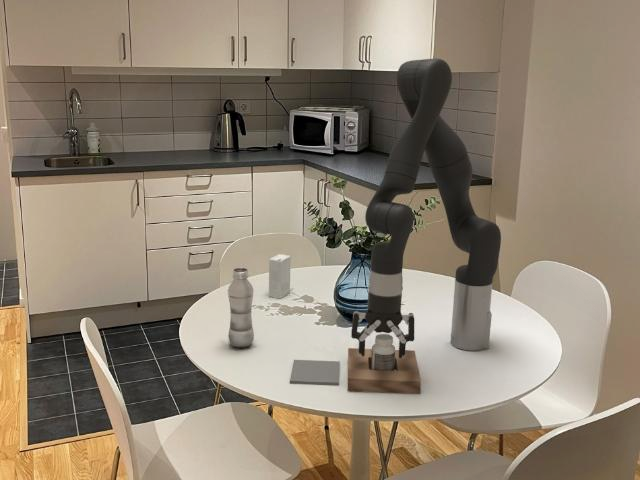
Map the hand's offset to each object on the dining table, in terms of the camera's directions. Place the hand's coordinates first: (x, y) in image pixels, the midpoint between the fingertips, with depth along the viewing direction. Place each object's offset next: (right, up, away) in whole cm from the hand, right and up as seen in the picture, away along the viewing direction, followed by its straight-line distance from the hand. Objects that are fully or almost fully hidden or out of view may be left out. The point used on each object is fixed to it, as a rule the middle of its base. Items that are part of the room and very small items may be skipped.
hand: (381, 355), depth 163 cm
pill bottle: (0, -5, +1) cm, 5 cm away
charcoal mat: (-15, -4, +2) cm, 16 cm away
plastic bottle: (-34, 0, +16) cm, 38 cm away
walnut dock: (0, -5, +1) cm, 5 cm away
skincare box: (-26, +10, +51) cm, 59 cm away
